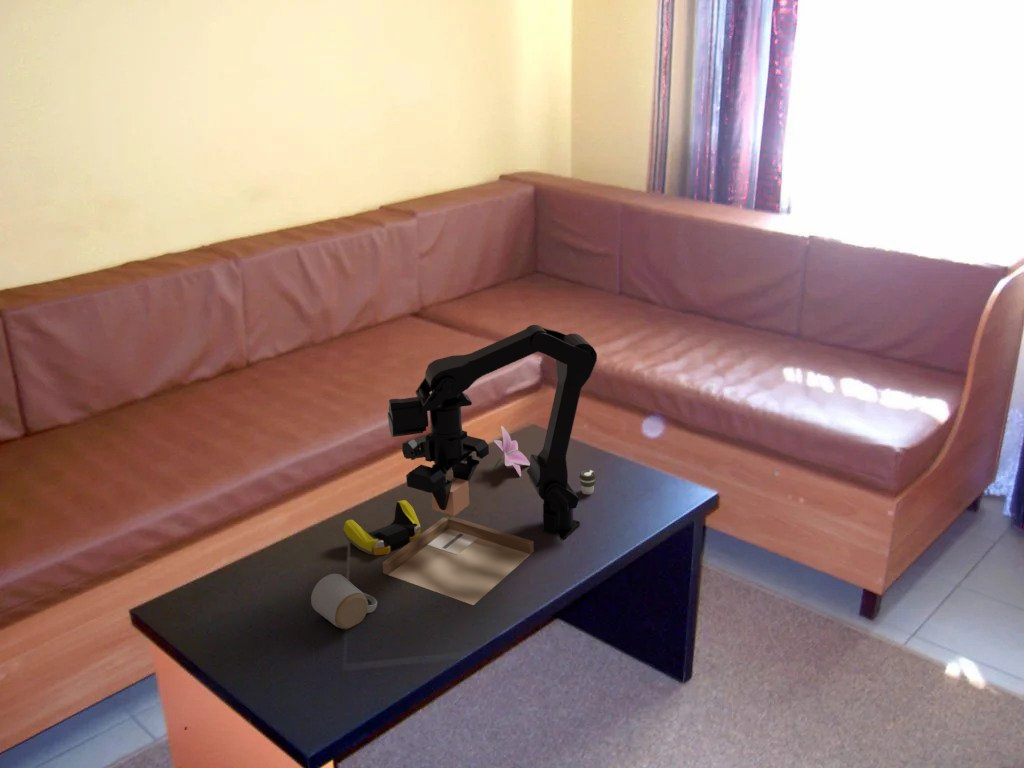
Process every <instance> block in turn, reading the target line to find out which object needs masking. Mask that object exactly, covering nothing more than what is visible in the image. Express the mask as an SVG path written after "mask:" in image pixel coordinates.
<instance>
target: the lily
mask: <svg viewBox="0 0 1024 768" xmlns="http://www.w3.org/2000/svg"><path fill="white" fill-rule="evenodd" d="M500 427H501V433H502V441H501V440H500V439H499V440H498V439H494V440H493V441H494V444H496V445H497V446H498V448H500V450H501V451H502V452H503V453H502V456H501V457H500V458H499V459H498V461H497V462H496V463H495V464H494V466H493V470H495V468H496V467H497V466H498V464H499V463H500V461H501V460H503V459H504V465H505V466H506V467H510V466H513V467H514V469H515V470H516V472H517V474H518V475H519V477H520V478H521V476H522V471H521V465H522V466H523V465H524V466H530V461H529V460H528V458H527V456H525V454H523V452H521V451H520V450H519V444H518V441H517V440H512V438H511V436H510V434H509V432H508V431H507V429H505V426H503V425H501V426H500Z"/></svg>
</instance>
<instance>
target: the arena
mask: <svg viewBox="0 0 1024 768" xmlns="http://www.w3.org/2000/svg"><path fill="white" fill-rule="evenodd" d="M534 550H535V548H534V540H530V539H528V538H525V537H521V536H518V535H514V534H511V533H507V532H504V531H501V530H497V529H494V528H490V527H488V526H486V525H482V524H478V523H474V522H472V521H469V520H465V519H462V518H459V517H456V516H453V515H449V514H446V515H444V517H441V519H439V520H438V521H436V522H435V523H433V524H432V525H431V526H430V527H429V528H427V529H426V530H424V531H423V532H421V534H420V535H419V536H418V537H416V538H415V539H414V540H412V541H411V542H410V543H408V544H407V545H405V546H402V547H400V548H399V550H397V551H396V552H395V553H393V554H392V555H391V556H390V557H388V558H387V559H385V560H384V561H382V563H381V564H382V573H383V574H384V575H387V576H389V577H393V578H395V579H398V580H401V581H403V582H407V583H409V584H412V585H415V586H418V587H420V588H423V589H427V590H429V591H431V592H435V593H438V594H441V595H443V596H446V597H450V598H452V599H455V600H458V601H460V602H463V603H467V604H469V605H472V606H475V605H476V603H478V602H479V601H480V600H481V599H482V598H484V597H485V596H486V595H487V594H488V593H489V592H490V591H491V590H492V589H494V588H495V587H496V586H497V585H498V584H499V583H501V581H503V580H504V579H505V578H506V577H507V576H508V575H509V574H510V573H512V572H513V571H514V570H515V569H516V568H517V567H518V566H519V565H520V564H522V563H523V562H524V561H525V560H526V559H527V558H528V557H529V556H530V555H532V554H533V553H534Z"/></svg>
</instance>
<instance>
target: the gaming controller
mask: <svg viewBox="0 0 1024 768" xmlns="http://www.w3.org/2000/svg"><path fill="white" fill-rule="evenodd" d="M395 505H396V506H395V511H394V519H393V521H392V522H391V523H390V524H388V525H385V526H383V527H380V528H378V529H375V530H372V531H369V532H367V531H365V530H364V529H363V528H362V526H360V525H359V524H358V523H357V521H355V520H353V519H347V520H346V521H345V523H344V525H343V531H342V533H343V534H344V537H345V538H346V540H347V541H348V542H349V543H351V544H352V545H353V546H354V547H356V548H357V549H358V550H360V551H362V552H364V553H366V554H368V555H371V556H372V555H374V556H382V555H383V556H384V555H387V554H390V552H392V551H395V550H397V549H401V548H403V547H404V546H405V545H407V544H408V543H410V542H411V541H412V540H414V539H415V538H416V537H418V536H419V535H420V534H422V526H421V523H420V521H419V518H418V517H417V514H416V512H415V510H414V509H415V508H414V507H413V506H412V505H411V504H410V503H409V502H408V501H407V500H406V499H403V500H398V501H396V504H395Z"/></svg>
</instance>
